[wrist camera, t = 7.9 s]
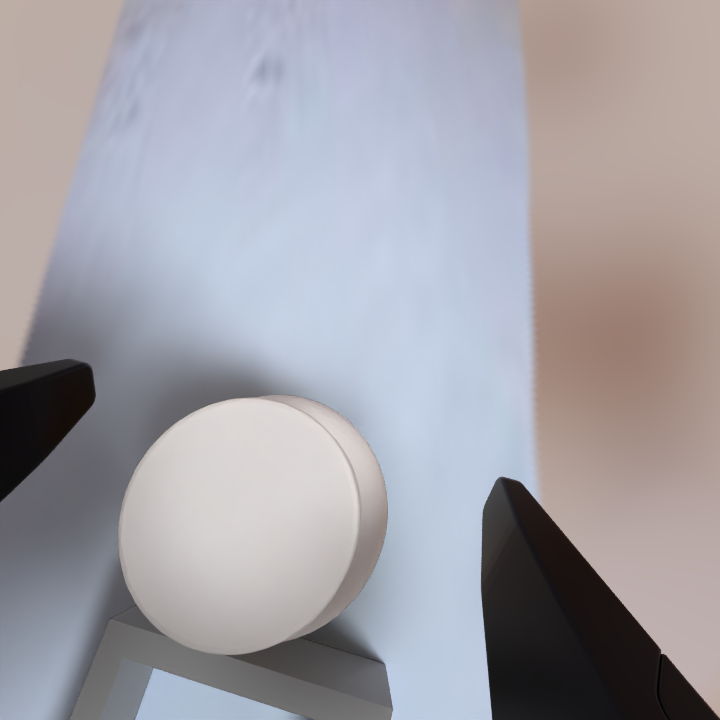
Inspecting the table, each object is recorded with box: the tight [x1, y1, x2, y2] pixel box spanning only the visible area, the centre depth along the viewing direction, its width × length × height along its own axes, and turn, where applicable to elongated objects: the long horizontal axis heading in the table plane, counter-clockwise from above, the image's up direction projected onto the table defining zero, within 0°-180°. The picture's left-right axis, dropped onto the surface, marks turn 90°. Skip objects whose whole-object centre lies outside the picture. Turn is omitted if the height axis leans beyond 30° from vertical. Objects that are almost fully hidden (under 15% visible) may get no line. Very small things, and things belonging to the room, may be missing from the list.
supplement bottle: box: [118, 395, 388, 655], centre depth 11 cm, size 5×5×10 cm
